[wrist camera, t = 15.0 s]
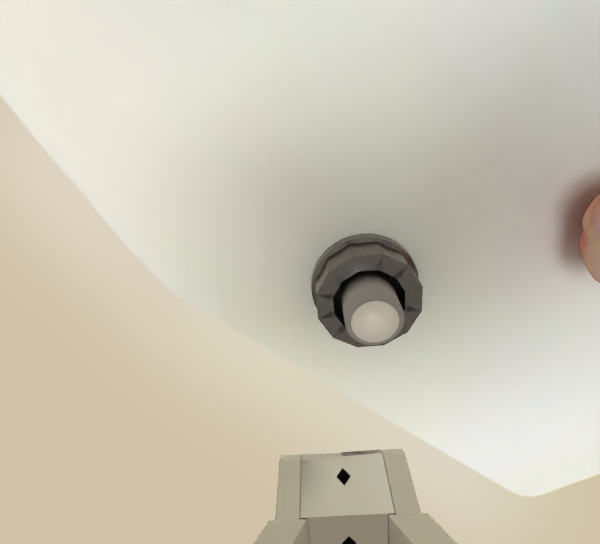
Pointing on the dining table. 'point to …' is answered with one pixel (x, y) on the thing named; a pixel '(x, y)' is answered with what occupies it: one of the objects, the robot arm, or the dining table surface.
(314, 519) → the robot arm
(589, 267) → the decorative fruit
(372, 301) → the grey cylinder
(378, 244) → the faceted grey ring
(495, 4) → the dining table surface
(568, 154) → the dining table surface
